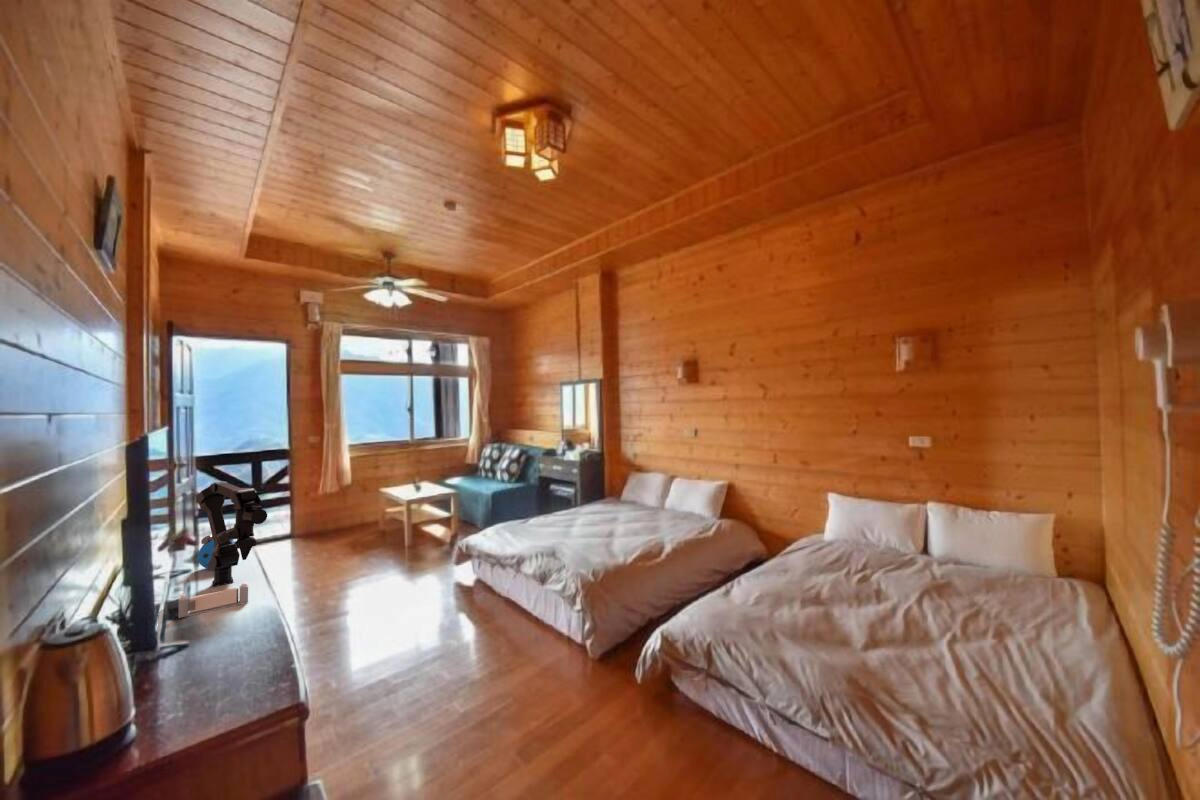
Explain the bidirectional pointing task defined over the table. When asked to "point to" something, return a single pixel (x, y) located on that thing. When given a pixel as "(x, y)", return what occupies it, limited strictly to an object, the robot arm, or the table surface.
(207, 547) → the alarm clock
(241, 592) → the gate frame
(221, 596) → the gate
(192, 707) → the table surface
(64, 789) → the table surface
